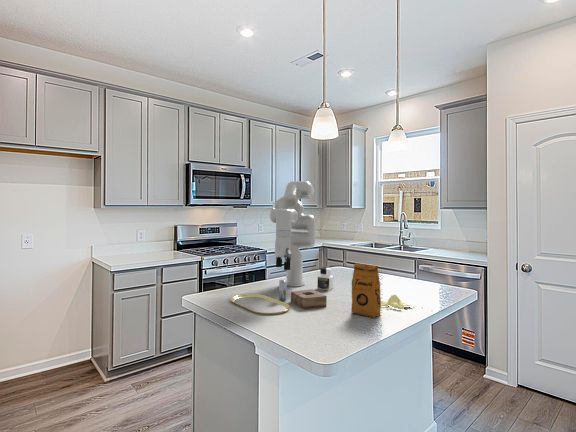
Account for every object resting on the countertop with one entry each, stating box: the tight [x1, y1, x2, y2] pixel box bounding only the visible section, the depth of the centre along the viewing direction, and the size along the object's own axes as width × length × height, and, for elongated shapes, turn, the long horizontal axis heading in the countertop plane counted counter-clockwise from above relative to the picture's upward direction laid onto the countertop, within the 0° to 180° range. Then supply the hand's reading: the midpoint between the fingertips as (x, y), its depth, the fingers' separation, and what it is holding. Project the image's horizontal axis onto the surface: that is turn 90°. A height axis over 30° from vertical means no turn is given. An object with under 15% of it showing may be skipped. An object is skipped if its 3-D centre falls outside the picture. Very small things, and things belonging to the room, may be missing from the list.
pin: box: [278, 279, 288, 303], centre depth 173 cm, size 4×4×10 cm
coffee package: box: [351, 263, 382, 318], centre depth 152 cm, size 10×12×22 cm
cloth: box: [381, 293, 412, 309], centre depth 164 cm, size 22×19×6 cm
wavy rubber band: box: [230, 293, 291, 316], centre depth 165 cm, size 19×35×2 cm, turn 38°
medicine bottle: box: [317, 266, 334, 291], centre depth 199 cm, size 7×7×12 cm
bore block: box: [290, 288, 327, 310], centre depth 167 cm, size 14×12×5 cm
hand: (282, 268), depth 172 cm, fingers open, 9 cm apart
